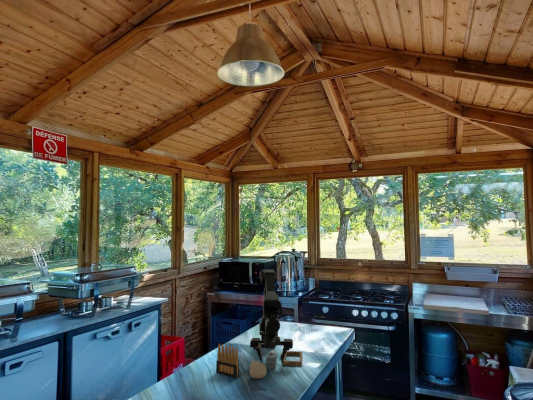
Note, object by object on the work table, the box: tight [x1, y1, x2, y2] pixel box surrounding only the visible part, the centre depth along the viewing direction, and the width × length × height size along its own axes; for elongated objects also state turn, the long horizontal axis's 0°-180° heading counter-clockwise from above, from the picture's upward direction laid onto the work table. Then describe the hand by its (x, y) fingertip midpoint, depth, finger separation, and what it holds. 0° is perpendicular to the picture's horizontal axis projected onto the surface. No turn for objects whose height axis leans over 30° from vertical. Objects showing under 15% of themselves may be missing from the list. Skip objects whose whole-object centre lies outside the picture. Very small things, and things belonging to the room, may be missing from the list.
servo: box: [265, 350, 278, 370], centre depth 164 cm, size 4×9×6 cm, turn 173°
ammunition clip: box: [215, 342, 240, 379], centre depth 153 cm, size 11×2×12 cm, turn 59°
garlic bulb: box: [249, 357, 267, 380], centre depth 150 cm, size 7×6×8 cm
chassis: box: [280, 350, 304, 367], centre depth 171 cm, size 10×14×2 cm
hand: (271, 363), depth 164 cm, fingers open, 9 cm apart
